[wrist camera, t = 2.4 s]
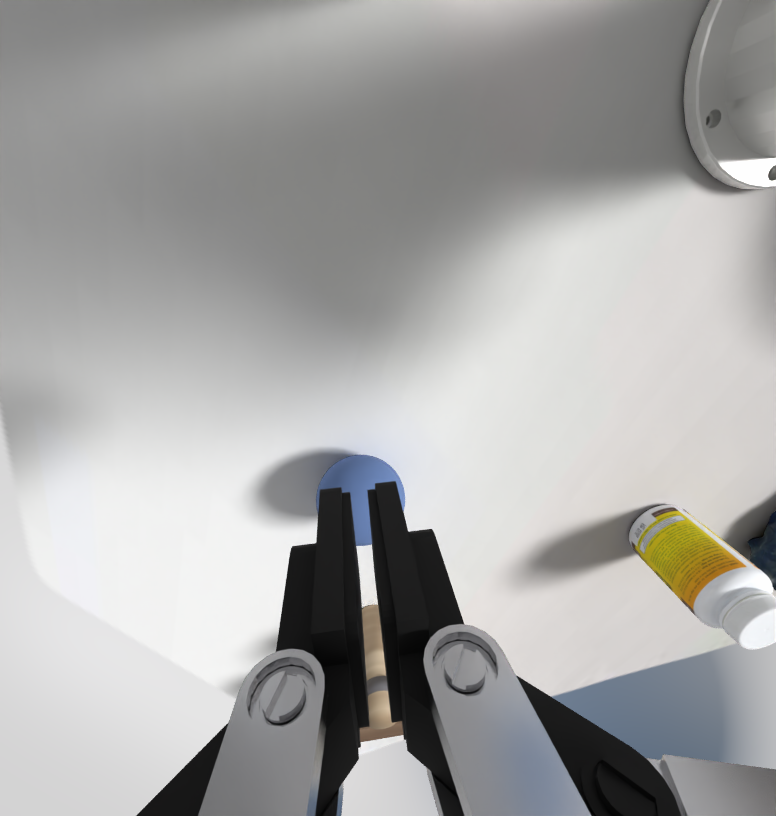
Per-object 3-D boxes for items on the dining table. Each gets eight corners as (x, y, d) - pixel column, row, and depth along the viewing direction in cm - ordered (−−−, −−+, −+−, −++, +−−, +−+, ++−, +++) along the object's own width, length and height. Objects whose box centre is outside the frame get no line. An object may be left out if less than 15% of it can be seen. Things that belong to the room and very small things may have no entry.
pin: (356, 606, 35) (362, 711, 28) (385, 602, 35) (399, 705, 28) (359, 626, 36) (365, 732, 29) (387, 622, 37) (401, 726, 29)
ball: (313, 444, 28) (307, 494, 23) (396, 435, 29) (410, 482, 23) (323, 511, 31) (320, 572, 25) (399, 502, 31) (413, 559, 26)
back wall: (330, 700, 40) (330, 734, 37) (427, 685, 41) (434, 717, 38) (332, 712, 41) (332, 746, 38) (428, 697, 42) (434, 729, 39)
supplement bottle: (613, 543, 36) (710, 652, 27) (649, 495, 34) (766, 593, 25) (659, 555, 37) (767, 662, 28) (696, 509, 35) (824, 607, 26)
